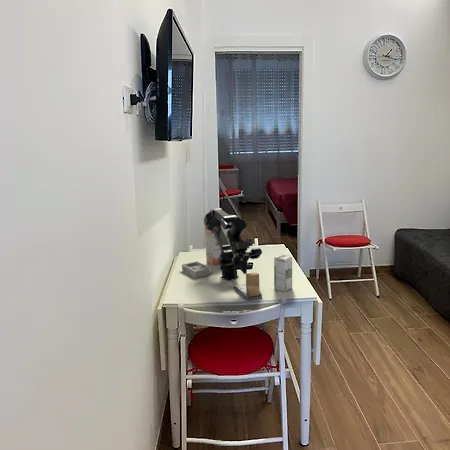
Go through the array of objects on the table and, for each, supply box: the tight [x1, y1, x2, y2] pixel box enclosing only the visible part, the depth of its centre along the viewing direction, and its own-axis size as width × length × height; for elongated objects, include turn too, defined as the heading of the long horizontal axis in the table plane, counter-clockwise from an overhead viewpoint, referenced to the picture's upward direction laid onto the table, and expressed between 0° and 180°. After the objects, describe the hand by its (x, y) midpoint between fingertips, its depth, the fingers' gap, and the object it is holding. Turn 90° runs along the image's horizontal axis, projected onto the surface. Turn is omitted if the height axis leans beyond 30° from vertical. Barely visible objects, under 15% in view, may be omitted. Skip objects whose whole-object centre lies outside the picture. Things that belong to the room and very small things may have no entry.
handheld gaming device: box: [181, 260, 211, 279], centre depth 215 cm, size 9×15×4 cm, turn 31°
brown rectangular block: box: [245, 271, 261, 297], centre depth 178 cm, size 3×5×9 cm, turn 109°
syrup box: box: [273, 253, 293, 292], centre depth 187 cm, size 6×6×14 cm
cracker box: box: [204, 224, 230, 266], centre depth 229 cm, size 14×6×21 cm, turn 133°
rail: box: [233, 283, 263, 302], centre depth 185 cm, size 16×6×3 cm, turn 20°
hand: (245, 273), depth 185 cm, fingers closed
